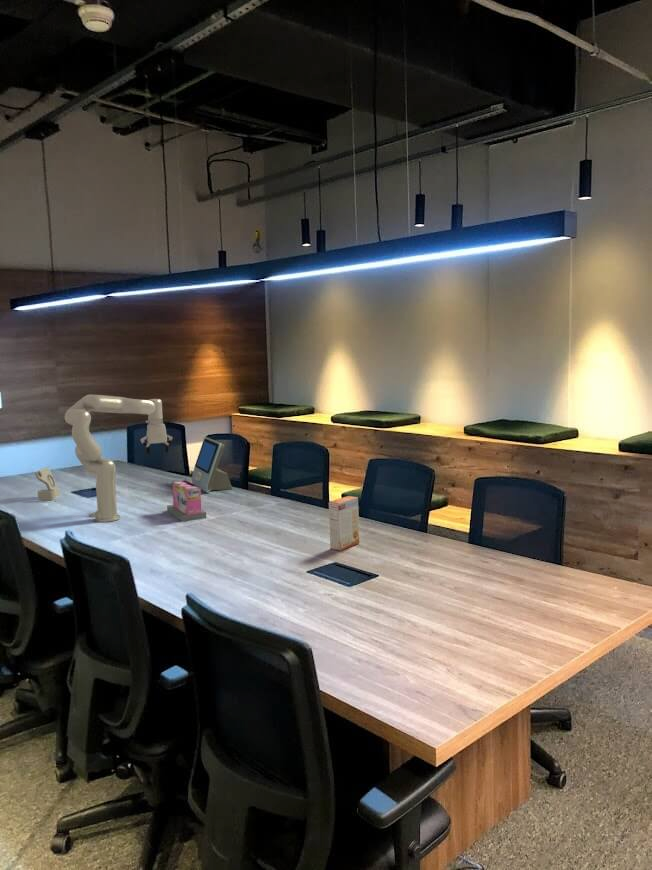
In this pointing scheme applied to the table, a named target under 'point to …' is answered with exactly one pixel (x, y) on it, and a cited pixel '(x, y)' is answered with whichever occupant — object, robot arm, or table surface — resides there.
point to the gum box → (187, 497)
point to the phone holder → (51, 485)
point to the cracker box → (344, 523)
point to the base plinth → (183, 516)
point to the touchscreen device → (210, 467)
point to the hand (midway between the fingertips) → (157, 453)
